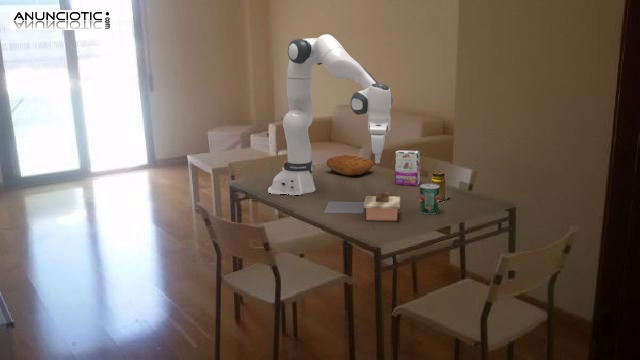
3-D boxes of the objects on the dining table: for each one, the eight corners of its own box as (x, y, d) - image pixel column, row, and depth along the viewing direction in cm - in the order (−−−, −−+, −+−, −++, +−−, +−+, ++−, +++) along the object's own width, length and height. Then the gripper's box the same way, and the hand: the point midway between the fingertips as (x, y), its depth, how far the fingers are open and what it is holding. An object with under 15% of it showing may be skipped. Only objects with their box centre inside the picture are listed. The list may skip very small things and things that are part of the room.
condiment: (427, 199, 265) (427, 173, 262) (436, 195, 271) (437, 169, 268) (441, 202, 261) (442, 175, 258) (451, 198, 267) (452, 171, 264)
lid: (363, 207, 235) (363, 197, 234) (365, 197, 249) (365, 187, 248) (399, 208, 233) (399, 197, 232) (400, 198, 247) (400, 188, 246)
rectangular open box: (366, 221, 238) (366, 207, 236) (368, 212, 249) (368, 198, 248) (396, 222, 236) (397, 207, 234) (397, 213, 247) (397, 199, 246)
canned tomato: (442, 213, 246) (443, 187, 243) (424, 215, 244) (425, 189, 241) (433, 207, 253) (434, 182, 250) (416, 209, 251) (416, 184, 248)
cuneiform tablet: (323, 172, 318) (323, 157, 316) (346, 167, 329) (346, 152, 327) (354, 179, 302) (354, 164, 300) (376, 173, 314) (376, 158, 312)
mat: (324, 213, 249) (324, 212, 249) (329, 202, 264) (329, 201, 264) (362, 214, 247) (362, 213, 246) (365, 203, 262) (365, 202, 262)
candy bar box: (419, 183, 291) (420, 150, 287) (417, 186, 287) (418, 152, 282) (397, 182, 295) (397, 149, 291) (394, 184, 291) (394, 151, 287)
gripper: (373, 121, 246) (372, 154, 250) (369, 130, 227) (368, 165, 230) (388, 121, 245) (387, 154, 249) (386, 130, 226) (385, 166, 229)
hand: (378, 160), depth 239 cm, fingers open, 8 cm apart
